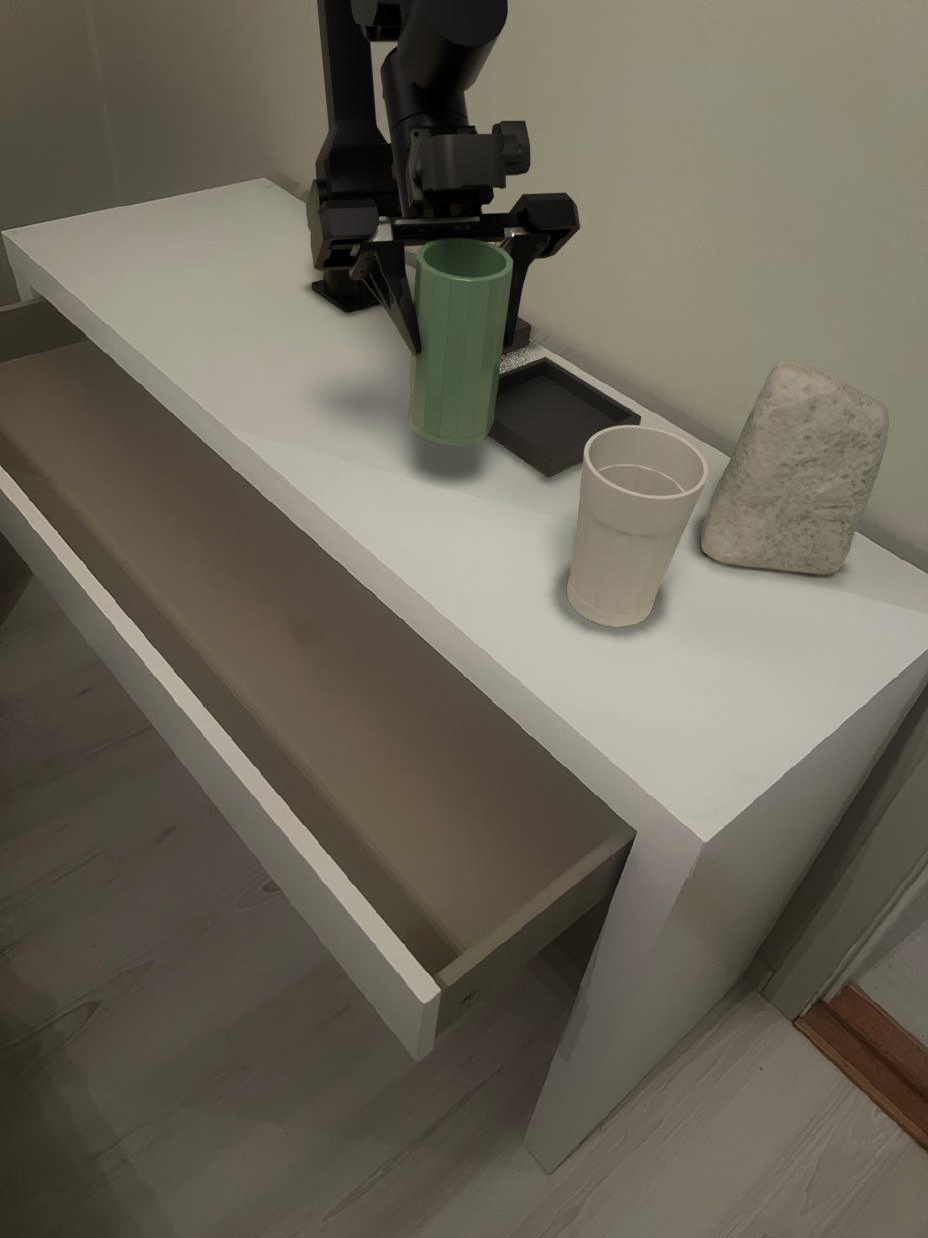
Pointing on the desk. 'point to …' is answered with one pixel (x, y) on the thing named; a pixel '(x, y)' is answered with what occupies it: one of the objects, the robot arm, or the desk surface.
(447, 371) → the canister
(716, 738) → the desk surface
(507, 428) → the drip tray
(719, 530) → the decorative stone
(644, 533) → the cup
